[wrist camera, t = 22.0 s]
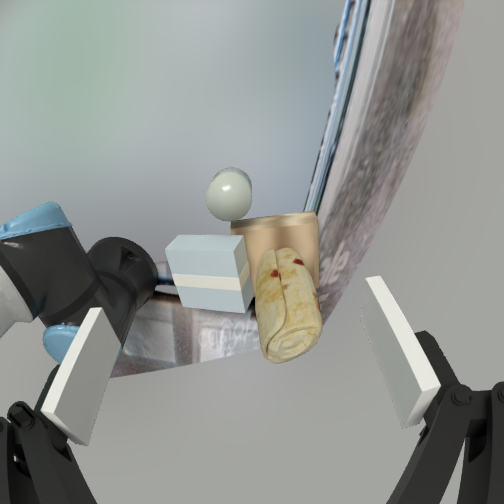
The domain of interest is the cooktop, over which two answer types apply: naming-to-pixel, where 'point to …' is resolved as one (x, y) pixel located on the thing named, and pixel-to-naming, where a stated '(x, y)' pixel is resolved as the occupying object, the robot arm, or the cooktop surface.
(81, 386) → the robot arm
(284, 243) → the tan square plate
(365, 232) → the cooktop surface
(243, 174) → the pale green rounded knob
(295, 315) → the food model
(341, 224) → the cooktop surface
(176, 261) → the flat box
